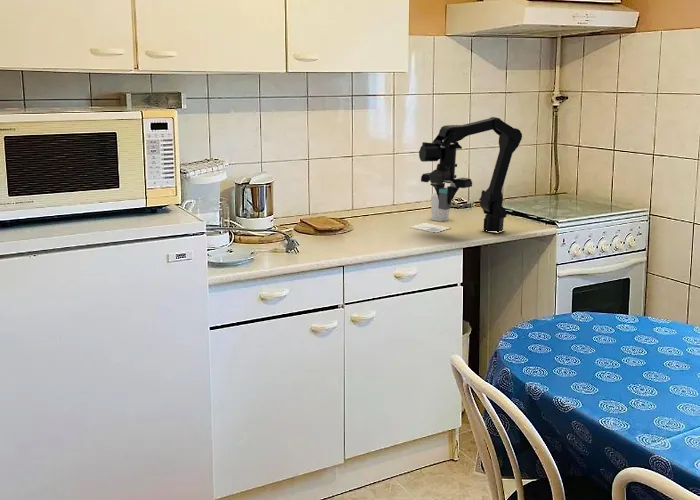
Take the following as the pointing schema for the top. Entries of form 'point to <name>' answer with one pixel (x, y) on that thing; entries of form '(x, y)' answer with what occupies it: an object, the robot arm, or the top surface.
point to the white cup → (438, 210)
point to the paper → (429, 227)
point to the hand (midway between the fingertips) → (444, 203)
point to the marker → (443, 199)
